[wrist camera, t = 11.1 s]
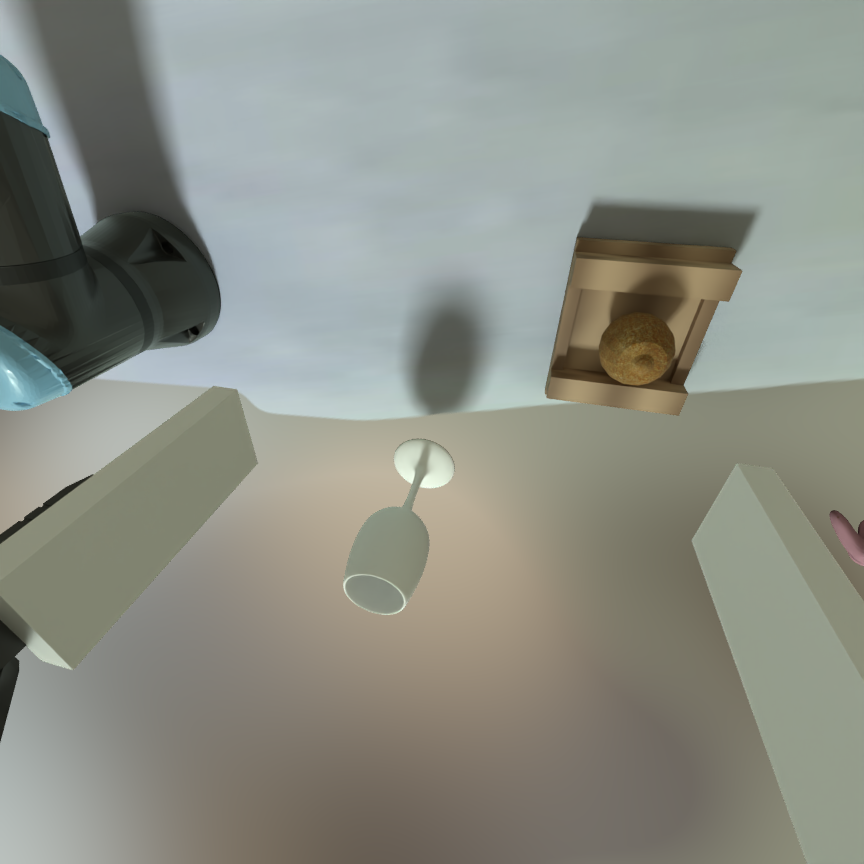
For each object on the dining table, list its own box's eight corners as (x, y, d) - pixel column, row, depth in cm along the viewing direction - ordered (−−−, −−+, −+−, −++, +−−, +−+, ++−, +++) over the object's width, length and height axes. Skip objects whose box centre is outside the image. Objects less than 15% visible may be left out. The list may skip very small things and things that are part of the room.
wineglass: (444, 434, 54) (398, 565, 38) (462, 484, 59) (427, 622, 42) (385, 442, 57) (318, 567, 41) (406, 489, 62) (353, 620, 45)
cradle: (545, 389, 48) (544, 406, 45) (576, 237, 38) (579, 245, 35) (666, 404, 45) (675, 423, 42) (731, 247, 36) (748, 257, 33)
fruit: (624, 372, 43) (637, 413, 37) (581, 335, 42) (586, 370, 36) (679, 328, 40) (704, 365, 33) (633, 286, 39) (649, 316, 32)
